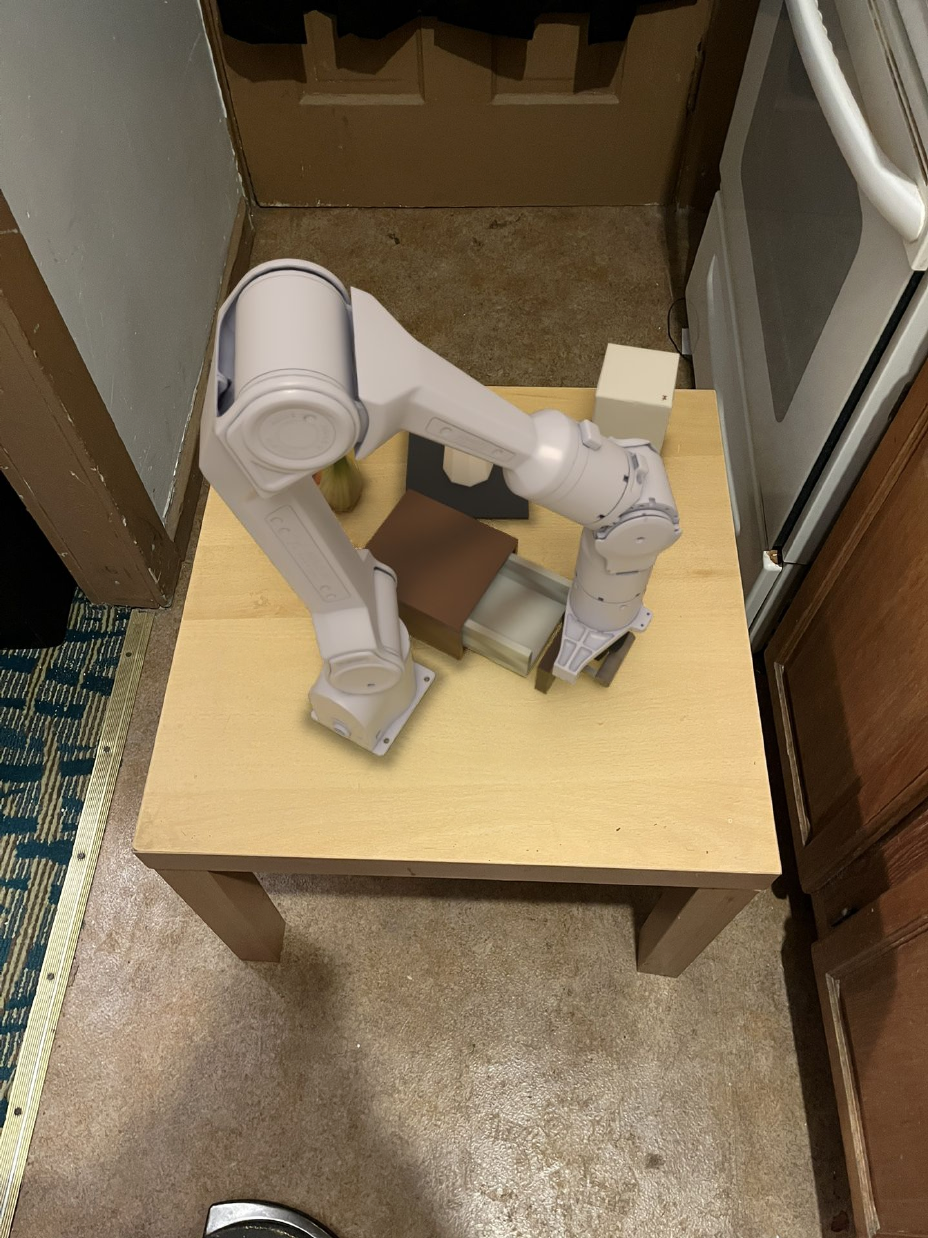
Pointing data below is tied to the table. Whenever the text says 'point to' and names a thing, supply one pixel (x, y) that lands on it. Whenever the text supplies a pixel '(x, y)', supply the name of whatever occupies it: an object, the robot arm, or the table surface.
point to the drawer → (528, 623)
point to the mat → (472, 501)
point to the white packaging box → (635, 393)
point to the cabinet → (439, 566)
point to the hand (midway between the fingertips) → (592, 651)
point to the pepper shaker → (465, 467)
